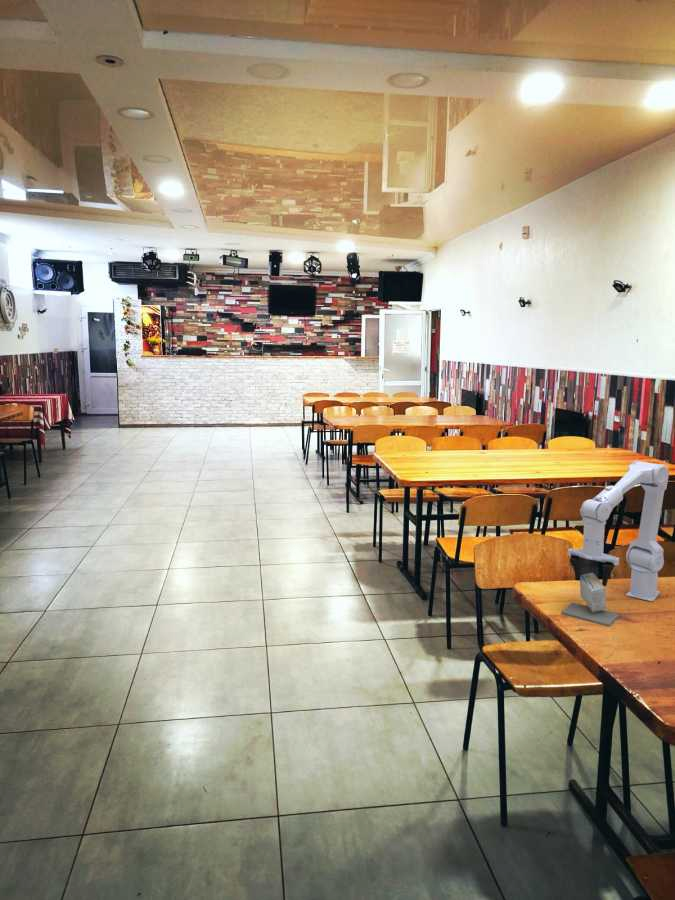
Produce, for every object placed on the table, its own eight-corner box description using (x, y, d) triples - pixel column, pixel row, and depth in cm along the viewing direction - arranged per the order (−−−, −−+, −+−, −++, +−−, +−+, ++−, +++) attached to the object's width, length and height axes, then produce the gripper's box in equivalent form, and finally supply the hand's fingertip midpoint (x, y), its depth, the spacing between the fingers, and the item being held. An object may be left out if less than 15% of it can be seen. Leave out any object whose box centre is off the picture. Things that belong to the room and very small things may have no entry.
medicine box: (606, 609, 180) (606, 587, 176) (592, 613, 180) (591, 591, 176) (594, 592, 187) (593, 571, 183) (580, 596, 187) (579, 574, 183)
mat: (571, 604, 188) (571, 602, 188) (618, 616, 179) (619, 614, 178) (561, 613, 181) (561, 611, 181) (609, 626, 172) (609, 624, 172)
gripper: (564, 538, 181) (562, 580, 183) (614, 547, 172) (612, 592, 174) (572, 532, 186) (571, 574, 188) (622, 541, 177) (619, 585, 179)
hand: (591, 582), depth 181 cm, fingers open, 7 cm apart
